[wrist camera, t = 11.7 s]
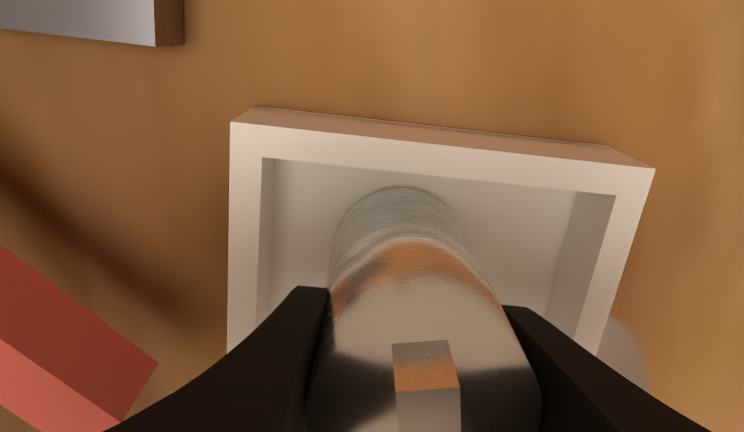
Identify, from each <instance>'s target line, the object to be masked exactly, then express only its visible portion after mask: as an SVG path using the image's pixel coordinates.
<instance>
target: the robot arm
mask: <svg viewBox="0 0 744 432" xmlns="http://www.w3.org/2000/svg"><path fill="white" fill-rule="evenodd" d="M327 289H328V288H321V287H311V286H300V285H298V286H296V287H295V288H294V289H292V290H291V291H290V293H289V294H288V295H287V296H286V297H285V299H284V300H283V301H282V302H281V303H280V304H279V305H278V306H277V308H276V309H275V310H274V311H273V312H272V313H271V314H270V315H269V316H268V317H267V318H266V319H265V320H264V321H263V322H262V323H261V324H260V325H259V326H258V327H257V328H256V329H255V330H254V331H253V332H252V333H251V334H249V335H248V336H247V337H246V338H245V339H244V340H243V341H242V342H240V343H239V344H238V345H237V346H236V347H234V348H233V349H232V350H231V351H230V352H229V353H227V354H226V355H225V356H224V357H223V358H221V359H220V360H219V361H218V362H216V363H215V364H214V365H213V366H211V367H210V368H209V369H207V370H206V371H205V372H203V373H202V374H200V375H199V376H198V377H196V378H195V379H193V380H192V381H191V382H189V383H188V384H186V385H185V386H183V387H182V388H180V389H179V390H177V391H175V392H174V393H172V394H170V395H169V396H167V397H165V398H163V399H162V400H160V401H158V402H156V403H155V404H153V405H151V406H149V407H148V408H146V409H144V410H142V411H141V412H139V413H137V414H135V415H134V416H132V417H130V418H128V419H127V420H125V421H123V422H121V423H119V424H117V425H115V426H113V427H111V428H109V429H107V430H105V431H103V432H307V428H306V416H305V415H306V403H307V397H308V391H309V384H310V378H311V372H312V366H313V361H314V356H315V351H316V346H317V342H318V338H319V334H320V329H321V325H322V321H323V316H324V310H325V303H326V296H327ZM501 306H502V308H503V310H504V312H505V314H506V316H507V318H508V320H509V322H510V325H511V327H512V329H513V331H514V333H515V335H516V337H517V339H518V341H519V343H520V345H521V347H522V349H523V351H524V353H525V355H526V357H527V359H528V361H529V363H530V365H531V367H532V369H533V371H534V374H535V376H536V379H537V381H538V384H539V387H540V392H541V397H542V416H541V423H540V427H539V430H538V432H711V431H709V430H708V429H706V428H704V427H702V426H701V425H699V424H697V423H696V422H694V421H692V420H690V419H689V418H687V417H685V416H683V415H682V414H680V413H678V412H677V411H675V410H673V409H672V408H670V407H669V406H667V405H665V404H664V403H662V402H661V401H659V400H658V399H656V398H654V397H653V396H651V395H650V394H648V393H647V392H645V391H644V390H642V389H641V388H639V387H638V386H636V385H635V384H633V383H632V382H630V381H629V380H628V379H626V378H625V377H623V376H622V375H620V374H619V373H618V372H616V371H615V370H613V369H612V368H610V367H609V366H607V365H606V364H605V363H604V362H602V361H601V360H599V359H598V358H597V357H595V356H594V355H593V354H591V353H590V352H589V351H587V350H586V349H585V348H583V347H582V346H581V345H579V344H578V343H577V342H575V341H574V340H573V339H571V338H570V337H569V336H567V335H566V334H565V333H563V332H562V331H561V330H559V329H558V328H557V327H555V326H554V325H553V324H551V323H550V322H548V321H547V320H546V319H544V318H543V317H541V316H540V315H539V314H537V313H536V312H534V311H532V310H531V309H529V308H527V307H521V306H510V305H501Z"/></svg>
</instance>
